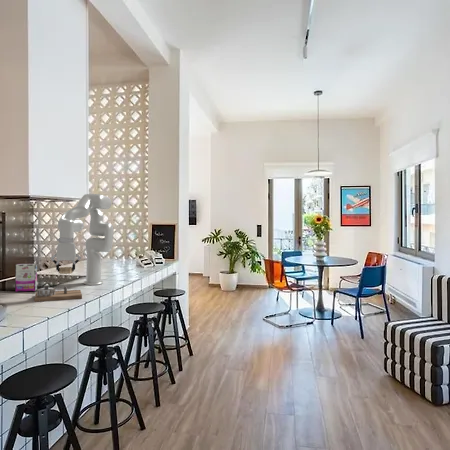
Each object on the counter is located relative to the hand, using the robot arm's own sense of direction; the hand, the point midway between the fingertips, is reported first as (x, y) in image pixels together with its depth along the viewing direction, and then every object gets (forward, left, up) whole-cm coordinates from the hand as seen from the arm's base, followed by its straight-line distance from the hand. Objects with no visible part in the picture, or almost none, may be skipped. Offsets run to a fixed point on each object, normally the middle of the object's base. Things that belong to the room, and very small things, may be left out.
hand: (65, 271), depth 209 cm
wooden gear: (0, 0, -1) cm, 1 cm away
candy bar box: (-23, -21, -15) cm, 35 cm away
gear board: (0, -3, -15) cm, 15 cm away
